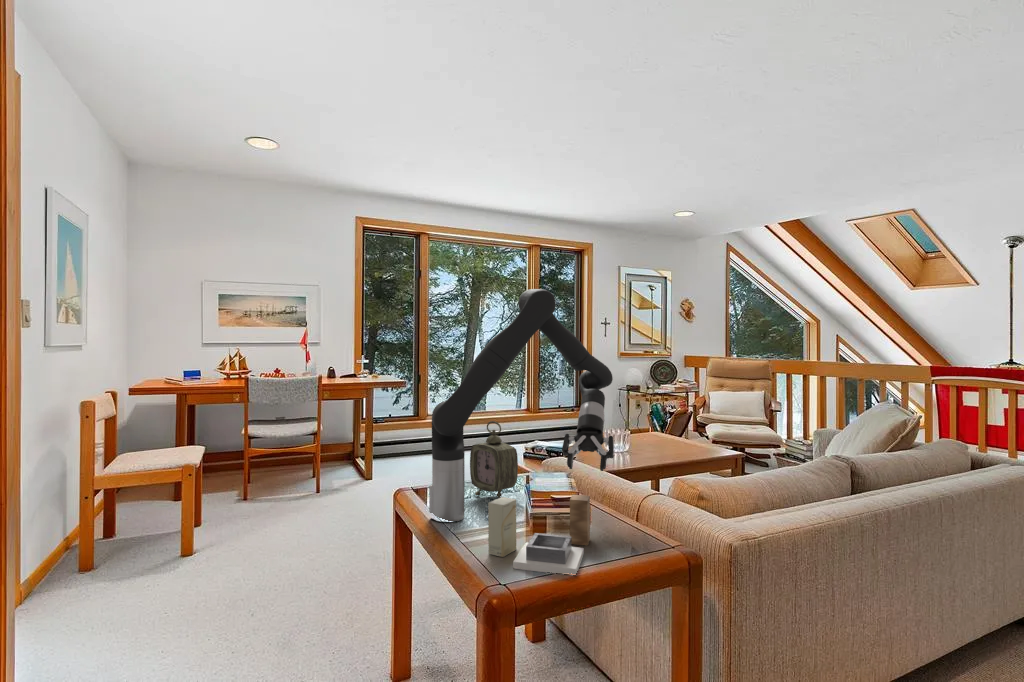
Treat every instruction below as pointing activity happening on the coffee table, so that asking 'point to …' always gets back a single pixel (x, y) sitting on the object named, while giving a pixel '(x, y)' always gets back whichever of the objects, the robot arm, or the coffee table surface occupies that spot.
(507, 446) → the tabletop clock
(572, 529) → the walnut peg
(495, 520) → the skincare box
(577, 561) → the mount board
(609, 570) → the coffee table surface
